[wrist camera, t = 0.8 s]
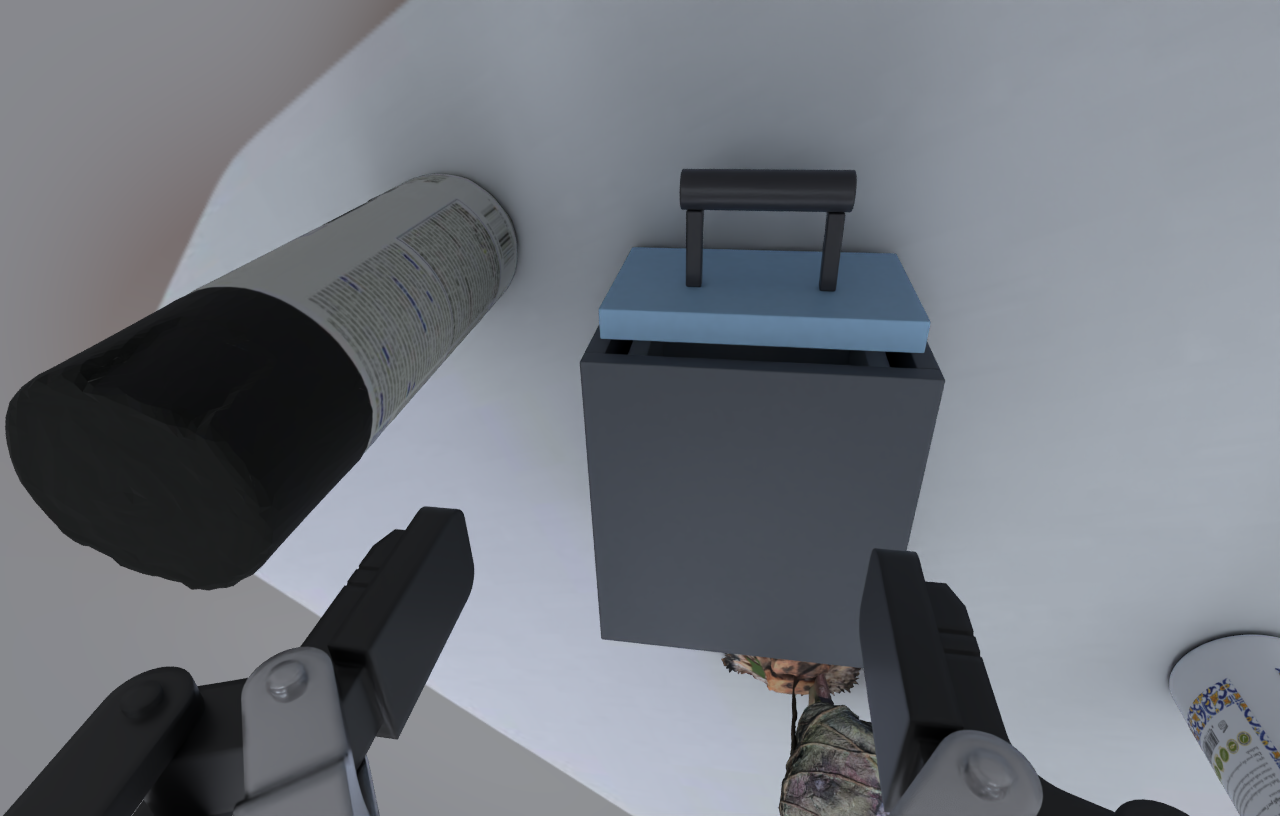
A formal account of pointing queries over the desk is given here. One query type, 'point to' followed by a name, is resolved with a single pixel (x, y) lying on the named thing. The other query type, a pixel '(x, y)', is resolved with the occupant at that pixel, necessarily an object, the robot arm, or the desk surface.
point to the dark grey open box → (749, 495)
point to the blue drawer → (765, 283)
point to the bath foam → (1236, 715)
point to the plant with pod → (821, 740)
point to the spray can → (259, 385)
